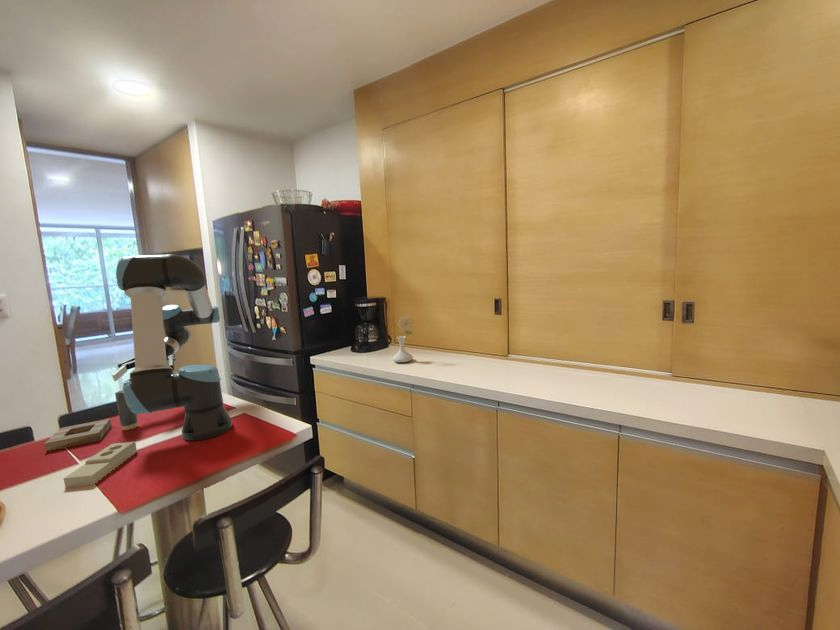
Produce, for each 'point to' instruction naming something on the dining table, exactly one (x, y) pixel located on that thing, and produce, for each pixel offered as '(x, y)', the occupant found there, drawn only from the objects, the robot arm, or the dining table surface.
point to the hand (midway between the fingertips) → (133, 378)
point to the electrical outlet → (100, 464)
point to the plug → (125, 413)
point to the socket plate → (78, 434)
